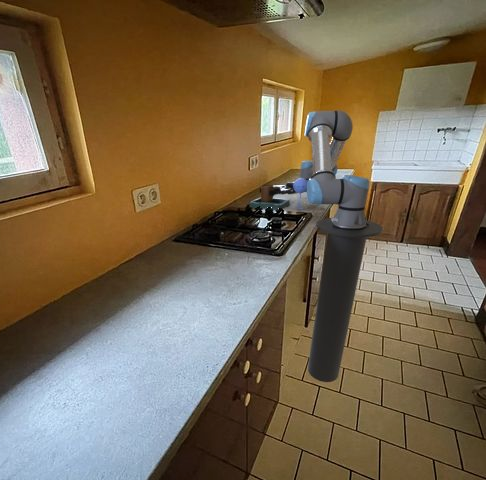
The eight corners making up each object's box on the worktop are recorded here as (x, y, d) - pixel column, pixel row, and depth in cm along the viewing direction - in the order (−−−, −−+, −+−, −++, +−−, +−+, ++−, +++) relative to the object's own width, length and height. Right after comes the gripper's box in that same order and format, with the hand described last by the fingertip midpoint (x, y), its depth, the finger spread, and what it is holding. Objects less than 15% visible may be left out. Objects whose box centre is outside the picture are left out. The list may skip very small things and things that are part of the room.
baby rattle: (288, 208, 183) (290, 177, 175) (300, 207, 186) (303, 176, 178) (296, 211, 176) (299, 179, 168) (309, 210, 178) (312, 178, 171)
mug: (280, 199, 192) (281, 184, 188) (279, 202, 186) (280, 186, 181) (261, 199, 195) (262, 184, 191) (260, 201, 188) (260, 186, 184)
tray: (289, 204, 194) (289, 199, 192) (278, 210, 181) (279, 205, 179) (261, 201, 204) (261, 196, 202) (249, 207, 191) (249, 202, 189)
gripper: (283, 179, 202) (254, 183, 194) (305, 184, 185) (275, 188, 176) (282, 191, 206) (254, 194, 197) (304, 196, 188) (274, 201, 179)
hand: (264, 191), depth 187 cm, fingers closed on mug, 9 cm apart
